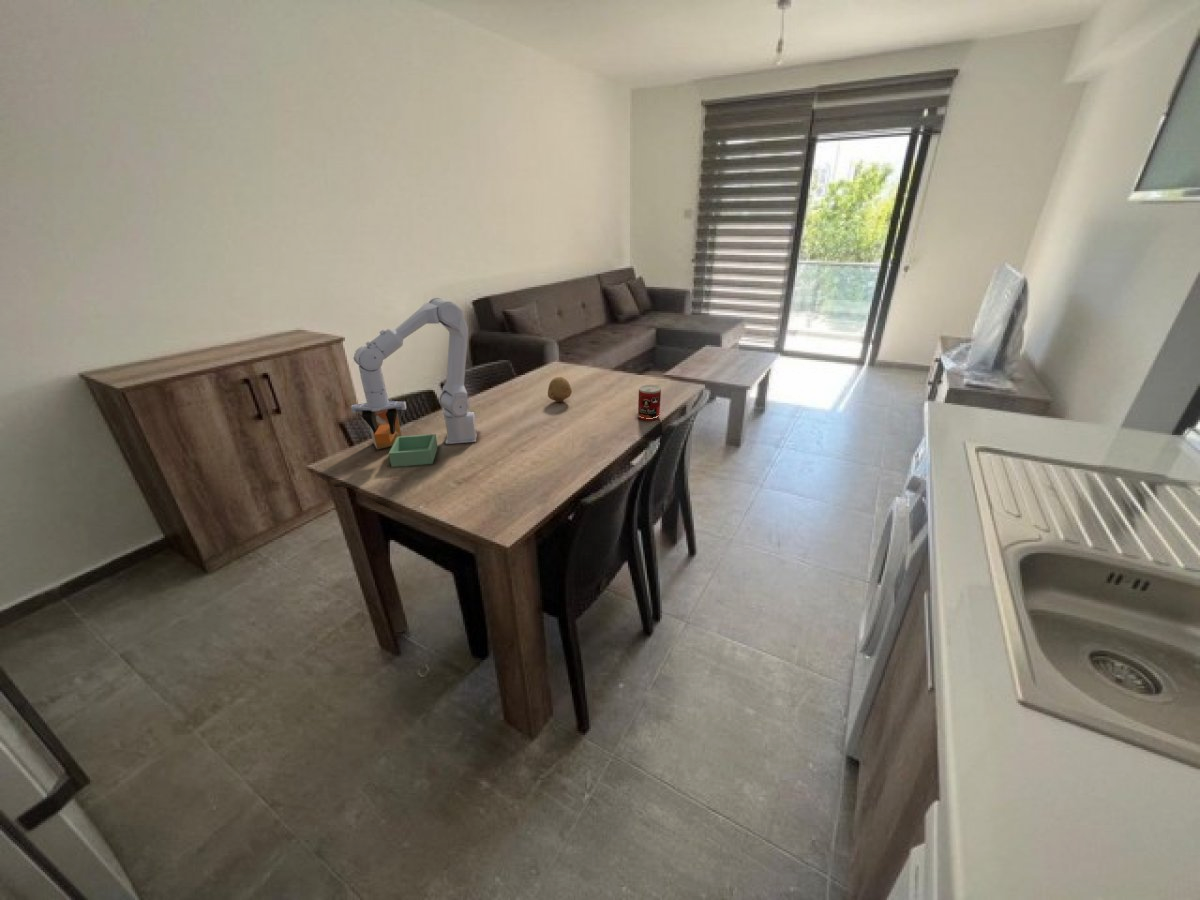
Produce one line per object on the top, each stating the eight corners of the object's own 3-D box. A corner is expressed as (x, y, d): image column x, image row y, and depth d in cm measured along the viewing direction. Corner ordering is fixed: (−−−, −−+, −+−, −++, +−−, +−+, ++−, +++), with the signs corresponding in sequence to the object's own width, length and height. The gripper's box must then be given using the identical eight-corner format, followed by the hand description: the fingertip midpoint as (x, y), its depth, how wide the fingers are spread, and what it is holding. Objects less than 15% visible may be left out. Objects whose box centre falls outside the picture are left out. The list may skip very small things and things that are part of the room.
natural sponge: (576, 400, 188) (576, 376, 184) (563, 407, 182) (562, 382, 177) (558, 396, 193) (557, 372, 188) (544, 403, 186) (543, 378, 182)
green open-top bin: (437, 446, 152) (435, 434, 150) (432, 463, 142) (430, 450, 140) (399, 449, 150) (396, 436, 148) (391, 467, 140) (388, 453, 138)
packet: (395, 433, 145) (393, 423, 144) (390, 442, 139) (388, 433, 138) (382, 433, 145) (379, 424, 143) (376, 443, 138) (373, 434, 137)
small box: (377, 450, 150) (368, 411, 144) (373, 443, 154) (364, 405, 149) (404, 444, 154) (396, 406, 148) (399, 437, 158) (391, 400, 153)
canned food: (635, 419, 171) (636, 390, 166) (641, 411, 178) (642, 383, 173) (655, 422, 168) (657, 393, 164) (661, 414, 175) (663, 386, 170)
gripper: (343, 396, 130) (355, 440, 137) (398, 392, 133) (408, 437, 139) (351, 387, 137) (362, 430, 143) (404, 384, 139) (412, 427, 145)
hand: (385, 433), depth 141 cm, fingers closed on packet, 4 cm apart
